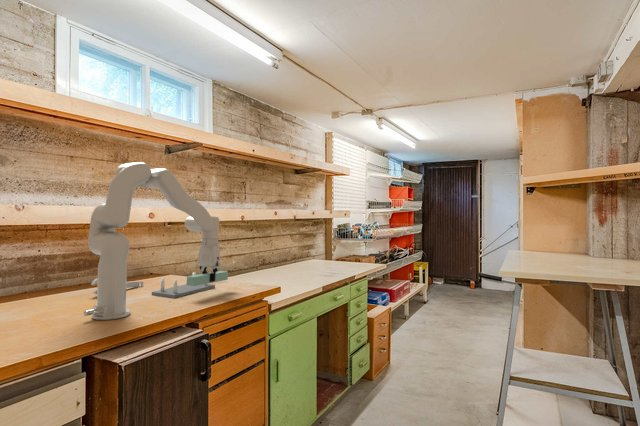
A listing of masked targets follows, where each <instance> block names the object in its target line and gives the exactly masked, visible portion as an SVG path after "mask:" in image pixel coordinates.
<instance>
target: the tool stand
mask: <svg viewBox="0 0 640 426" xmlns="http://www.w3.org/2000/svg"><path fill="white" fill-rule="evenodd" d="M192 275H197V273H196V272H195V271H194V272H192ZM192 275H191V276H192ZM165 281H166V280H165V278H163V277H162V278H160V289H158V290H155V291H151V296H154V297H155V296H156V297H162V298H163V297H164V298H170V299H177V298H180V297H184V296H185V297H186V296H188V295H193V294H196V293H200V292H204V291H207V290H211V289H215V287H216V285H215V284H212V283H208V284H203V285H198V286H188V285H187V283H184V284H180V285H178V279H173V286H172V287H168V288H165Z"/></svg>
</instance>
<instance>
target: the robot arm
mask: <svg viewBox="0 0 640 426" xmlns="http://www.w3.org/2000/svg"><path fill="white" fill-rule="evenodd" d="M137 188H144V189H152V190H156V189H157V190H159V192H160V193H161V194H162V196H163V197H164V198H165V199H166V201H167V202H168V203H169V205H170V206H171V207H173V208H175V209H177V210H179V211H181V212H184V213H185V214H187V215H189V216H188V217H187V218H186V219H185V221H184V226H185V228H186V229H187V230H188V231H190V232H194V233H201V239H200V242H201V244H200V245H199V248H198V249H199V250H198V255H197V263H196V266H197V267H198V268H199V269H200V272H201V274H205V273H210V282H213V283H215V282H214V281H215V275H216V273H217V272H218V271H220V269H221V268H222V264H221V251H220V250H221V249H220V245H219V237H220V236H219V235H220V232H219V231H220V218H219V217H218V216H212V215H211V214H210V213H209V212H208V210H207V209H206V208H205V207H204V206H203V205H202V204H201V203H200V202H199V201H197V200H196V199H195V198H194V197H192V196H191V195H189V193H187V191H186V190H185V188H184V187H183V185H182V184H181V183H180V181H179V180H178V179H177V177H176V176H175V175H174V174H173V172H172V171H171V170H170V169H168V168H164V167H163V168H162V167H161V168H160V167H159V168H151V167H150V165H148V164H147V163H145V162H143V161H142V162H140V161H137V162H130V163H124V164H121V165H119V166H118V167H117V168H116V170H115V176H114V177H113V178H112V180H111V182H110V184H109V186H108V190H107V194H106V200H105V202H104V203H101V204H99V205H97V206H96V207H95V208H94V209H93V212H92V214H91V217H90V223H89V230H88V238H87V246H88V248H89V250H90V252H92V253H93V254H95V255H98V256H100V257H99V261H98V264H97V278H98V284H97V285H96V286H97V289H96V290H97V294H96V296H97V297H96V305H93V308H92V309H86V310H84V311H83V316H85V317H87V316H91V318H92V319H94V320H98V321H99V320H100V321H111V320H116V319H122V318H124V317H125V318H126V317H128V316H129V315H131V309H129V308H127V288H126V282H127V274H128V273H127V265H128V258H129V251H130V247H131V246H130V241H129V238H128V237H127V236H126V235H125V234H124V233H122V232H118V231H116V229H121V228H125V227H126V226H127V225H128V224H129V221H130V216H131V207H132V203H133V201H132V200H133V195H134V192H135V191H136V189H137ZM208 268H210V272H208Z"/></svg>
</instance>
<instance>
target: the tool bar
mask: <svg viewBox="0 0 640 426" xmlns="http://www.w3.org/2000/svg"><path fill="white" fill-rule="evenodd" d="M210 273H211V272H208V273H205V274H202V273H200V274H196V275H187V276H186V284H187V285H188V286H198V285H203V284H212V283H218V282H222V281H227V280H228V279H229V271H227V270H226V271H225V270H218V271H217V273H216V275H215V281H214V282H210Z"/></svg>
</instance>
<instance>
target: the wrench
mask: <svg viewBox="0 0 640 426" xmlns="http://www.w3.org/2000/svg"><path fill="white" fill-rule="evenodd" d="M90 285H91V286H95V285H96V286H97V285H98V277H97V278H95V279H93V280H92V281H91V283H90ZM143 286H144V281H143V280H135V281H126V289H129V288H131V289H132V288H142V287H143ZM92 293H93V294H95V295H97V289H95V290H93V291H92Z"/></svg>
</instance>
